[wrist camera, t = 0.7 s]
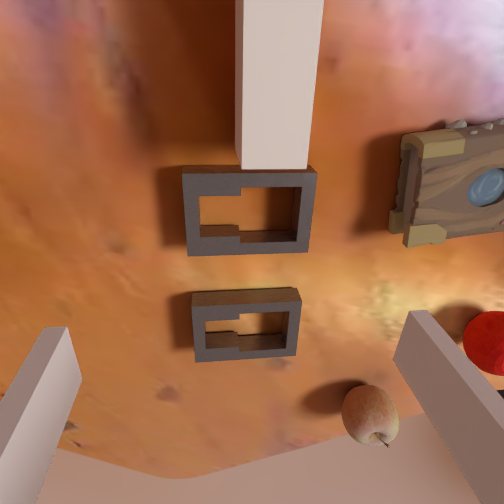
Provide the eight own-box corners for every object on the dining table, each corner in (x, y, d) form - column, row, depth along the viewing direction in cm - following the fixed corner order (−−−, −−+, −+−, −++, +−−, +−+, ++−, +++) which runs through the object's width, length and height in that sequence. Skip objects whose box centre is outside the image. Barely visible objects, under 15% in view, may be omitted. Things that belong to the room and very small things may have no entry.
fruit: (393, 377, 49) (424, 430, 42) (372, 411, 52) (397, 465, 45) (345, 372, 47) (369, 426, 40) (326, 408, 51) (345, 463, 44)
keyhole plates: (183, 165, 31) (181, 173, 29) (309, 165, 33) (317, 172, 30) (195, 346, 42) (195, 362, 40) (291, 340, 43) (295, 355, 41)
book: (386, 231, 38) (410, 253, 33) (398, 124, 32) (428, 134, 28) (514, 213, 38) (553, 232, 34) (546, 106, 33) (598, 112, 29)
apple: (471, 292, 43) (518, 333, 36) (520, 302, 45) (573, 343, 38) (437, 340, 46) (474, 385, 40) (484, 347, 48) (527, 392, 42)
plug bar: (233, -146, 22) (246, -249, 15) (301, -139, 23) (348, -236, 15) (233, 143, 31) (241, 169, 23) (282, 143, 31) (306, 169, 24)
